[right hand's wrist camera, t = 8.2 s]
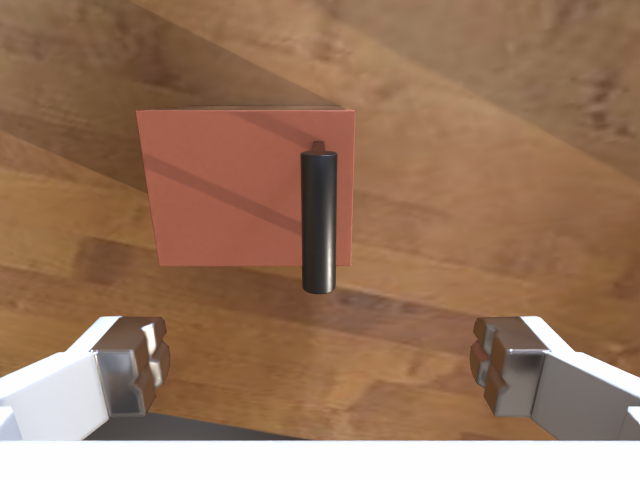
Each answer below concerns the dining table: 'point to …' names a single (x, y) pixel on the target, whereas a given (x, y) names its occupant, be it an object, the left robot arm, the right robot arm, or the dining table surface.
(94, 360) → the right robot arm
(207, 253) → the lid
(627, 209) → the dining table surface
